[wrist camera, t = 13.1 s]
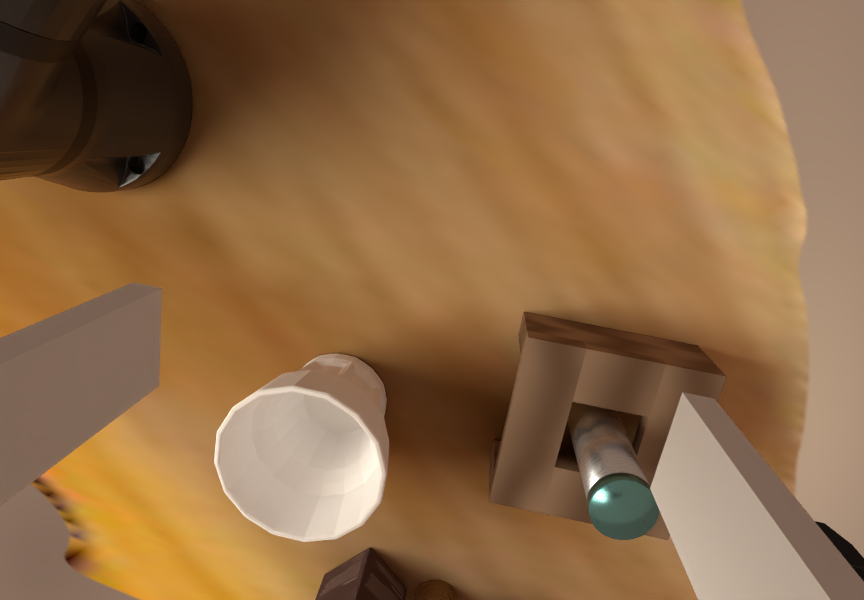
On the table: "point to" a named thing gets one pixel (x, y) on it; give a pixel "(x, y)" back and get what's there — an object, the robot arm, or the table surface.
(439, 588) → the medium pin
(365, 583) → the box
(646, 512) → the long pin
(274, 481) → the cup
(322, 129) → the table surface
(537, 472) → the bracket
